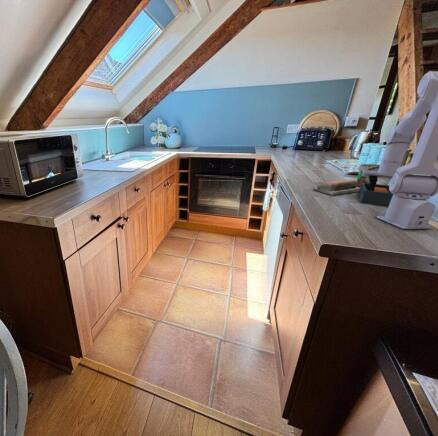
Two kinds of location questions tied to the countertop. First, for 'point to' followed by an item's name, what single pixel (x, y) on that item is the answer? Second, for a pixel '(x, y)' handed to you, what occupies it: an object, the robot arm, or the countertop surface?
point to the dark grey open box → (374, 195)
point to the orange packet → (380, 189)
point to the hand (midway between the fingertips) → (379, 195)
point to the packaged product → (337, 187)
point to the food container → (366, 168)
